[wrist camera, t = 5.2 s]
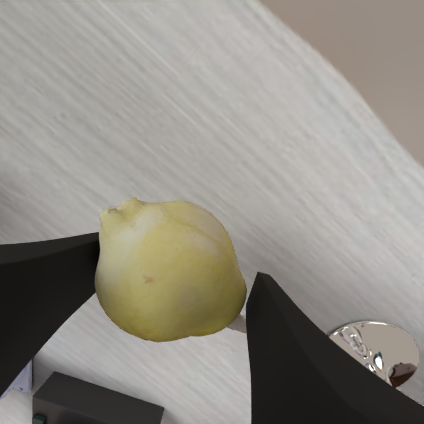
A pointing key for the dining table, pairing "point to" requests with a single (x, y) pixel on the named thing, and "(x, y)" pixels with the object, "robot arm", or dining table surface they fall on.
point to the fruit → (168, 271)
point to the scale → (88, 404)
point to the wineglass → (380, 349)
